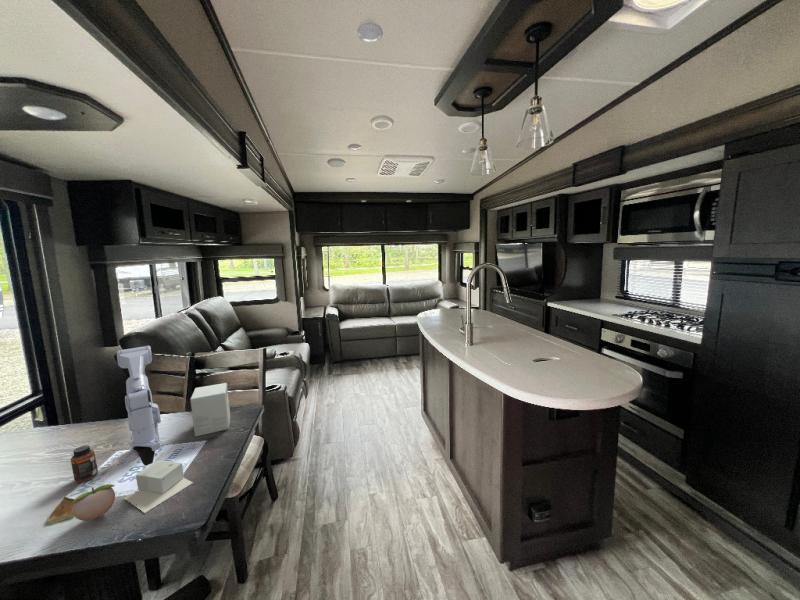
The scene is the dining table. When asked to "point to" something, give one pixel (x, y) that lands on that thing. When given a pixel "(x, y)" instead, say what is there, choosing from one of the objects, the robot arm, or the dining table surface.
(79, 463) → the supplement bottle
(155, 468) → the small box
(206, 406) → the supplement box
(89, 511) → the decorative fruit
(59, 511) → the tan flat wedge
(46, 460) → the dining table surface
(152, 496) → the mat
